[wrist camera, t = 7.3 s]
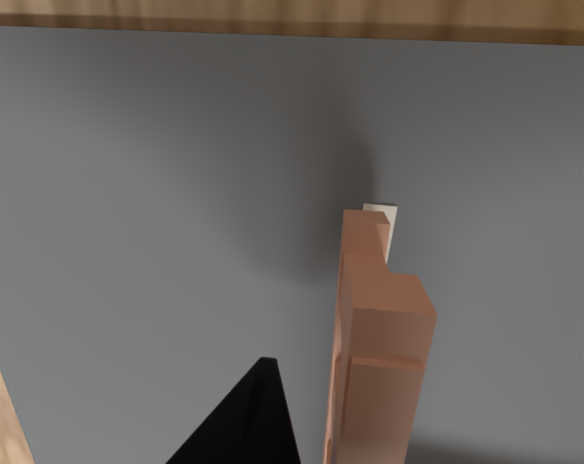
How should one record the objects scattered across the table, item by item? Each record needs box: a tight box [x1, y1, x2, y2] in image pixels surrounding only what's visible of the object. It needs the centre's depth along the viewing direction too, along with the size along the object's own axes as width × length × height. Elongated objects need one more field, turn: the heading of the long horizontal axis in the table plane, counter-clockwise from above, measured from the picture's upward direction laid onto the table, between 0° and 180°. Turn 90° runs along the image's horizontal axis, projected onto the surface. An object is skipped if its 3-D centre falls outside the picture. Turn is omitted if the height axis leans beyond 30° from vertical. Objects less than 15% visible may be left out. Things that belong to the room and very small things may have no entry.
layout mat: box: [0, 26, 584, 464], centre depth 10 cm, size 22×22×1 cm
